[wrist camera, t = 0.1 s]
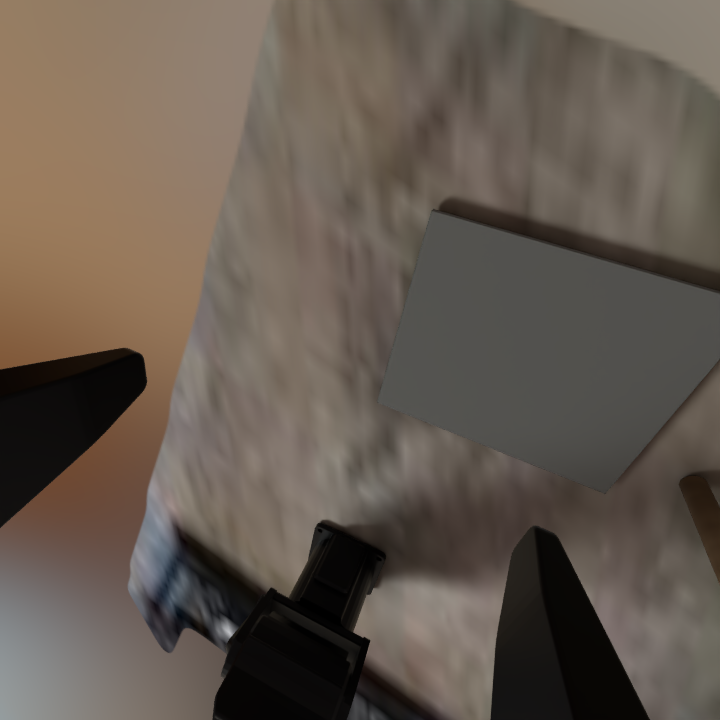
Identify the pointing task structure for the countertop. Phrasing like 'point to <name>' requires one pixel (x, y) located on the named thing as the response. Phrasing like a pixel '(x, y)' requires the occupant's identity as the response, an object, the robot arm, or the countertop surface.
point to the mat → (546, 349)
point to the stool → (704, 516)
